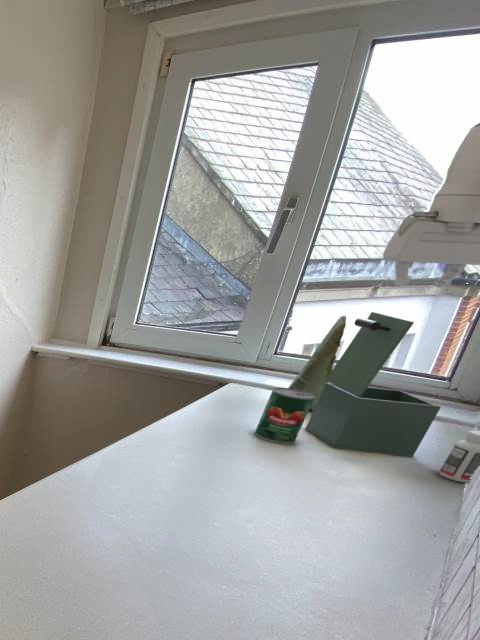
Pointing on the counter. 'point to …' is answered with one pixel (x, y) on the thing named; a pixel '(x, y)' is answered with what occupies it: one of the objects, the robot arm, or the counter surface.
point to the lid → (368, 352)
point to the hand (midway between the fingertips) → (420, 286)
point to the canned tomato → (284, 415)
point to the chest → (372, 420)
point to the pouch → (320, 363)
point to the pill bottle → (463, 458)
